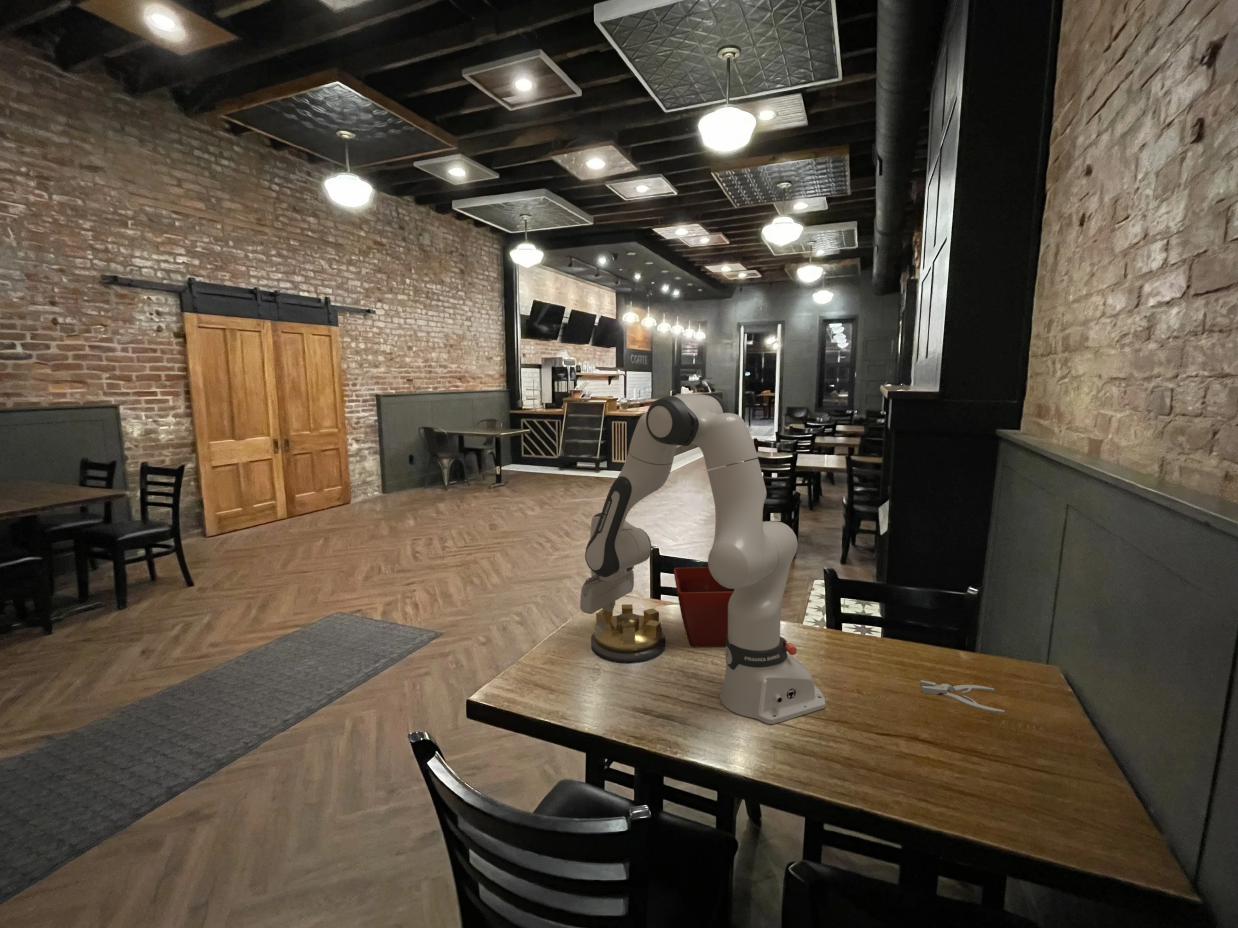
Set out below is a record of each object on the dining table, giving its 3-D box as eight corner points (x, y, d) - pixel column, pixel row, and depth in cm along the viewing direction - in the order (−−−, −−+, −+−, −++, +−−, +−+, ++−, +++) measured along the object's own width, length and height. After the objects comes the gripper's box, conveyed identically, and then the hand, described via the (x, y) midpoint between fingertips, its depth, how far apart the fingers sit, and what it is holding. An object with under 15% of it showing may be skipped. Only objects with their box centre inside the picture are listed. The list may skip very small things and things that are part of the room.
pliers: (1005, 708, 117) (923, 694, 122) (1004, 715, 117) (923, 701, 123) (993, 684, 126) (918, 672, 131) (993, 690, 126) (918, 678, 132)
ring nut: (638, 617, 163) (638, 599, 162) (675, 641, 148) (675, 621, 147) (583, 632, 154) (582, 613, 153) (616, 659, 139) (615, 638, 138)
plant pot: (678, 653, 146) (677, 591, 143) (673, 622, 164) (673, 567, 162) (752, 653, 145) (753, 591, 142) (739, 622, 164) (740, 566, 161)
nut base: (654, 625, 163) (654, 617, 162) (675, 658, 143) (675, 649, 143) (586, 632, 159) (585, 625, 159) (597, 667, 140) (597, 658, 139)
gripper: (592, 583, 143) (593, 634, 145) (637, 561, 160) (638, 607, 162) (573, 578, 147) (575, 628, 149) (619, 557, 163) (620, 602, 165)
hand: (608, 617), depth 156 cm, fingers closed, pressing on ring nut
